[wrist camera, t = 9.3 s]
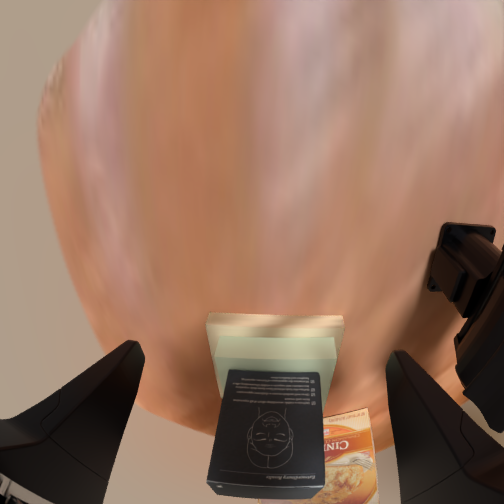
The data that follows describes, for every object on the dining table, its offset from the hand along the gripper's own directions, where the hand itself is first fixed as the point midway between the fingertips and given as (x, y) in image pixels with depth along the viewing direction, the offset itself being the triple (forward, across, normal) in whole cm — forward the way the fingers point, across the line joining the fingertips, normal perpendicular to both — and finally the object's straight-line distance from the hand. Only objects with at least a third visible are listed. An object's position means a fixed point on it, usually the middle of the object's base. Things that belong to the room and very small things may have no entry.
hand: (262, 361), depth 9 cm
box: (+9, 0, +14) cm, 17 cm away
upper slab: (+11, 0, +15) cm, 19 cm away
